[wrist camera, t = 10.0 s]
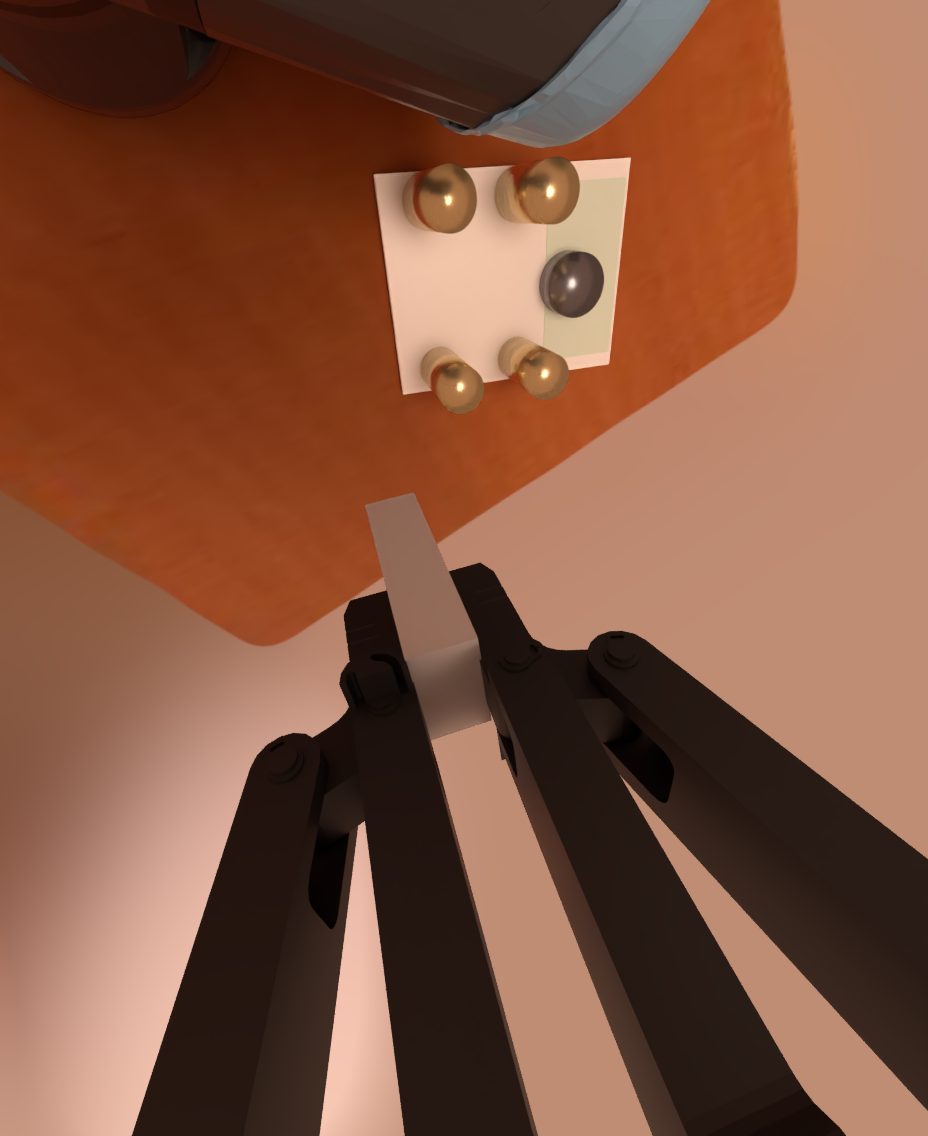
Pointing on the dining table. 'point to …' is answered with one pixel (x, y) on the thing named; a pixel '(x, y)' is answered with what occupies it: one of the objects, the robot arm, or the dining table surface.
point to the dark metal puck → (571, 283)
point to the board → (498, 275)
